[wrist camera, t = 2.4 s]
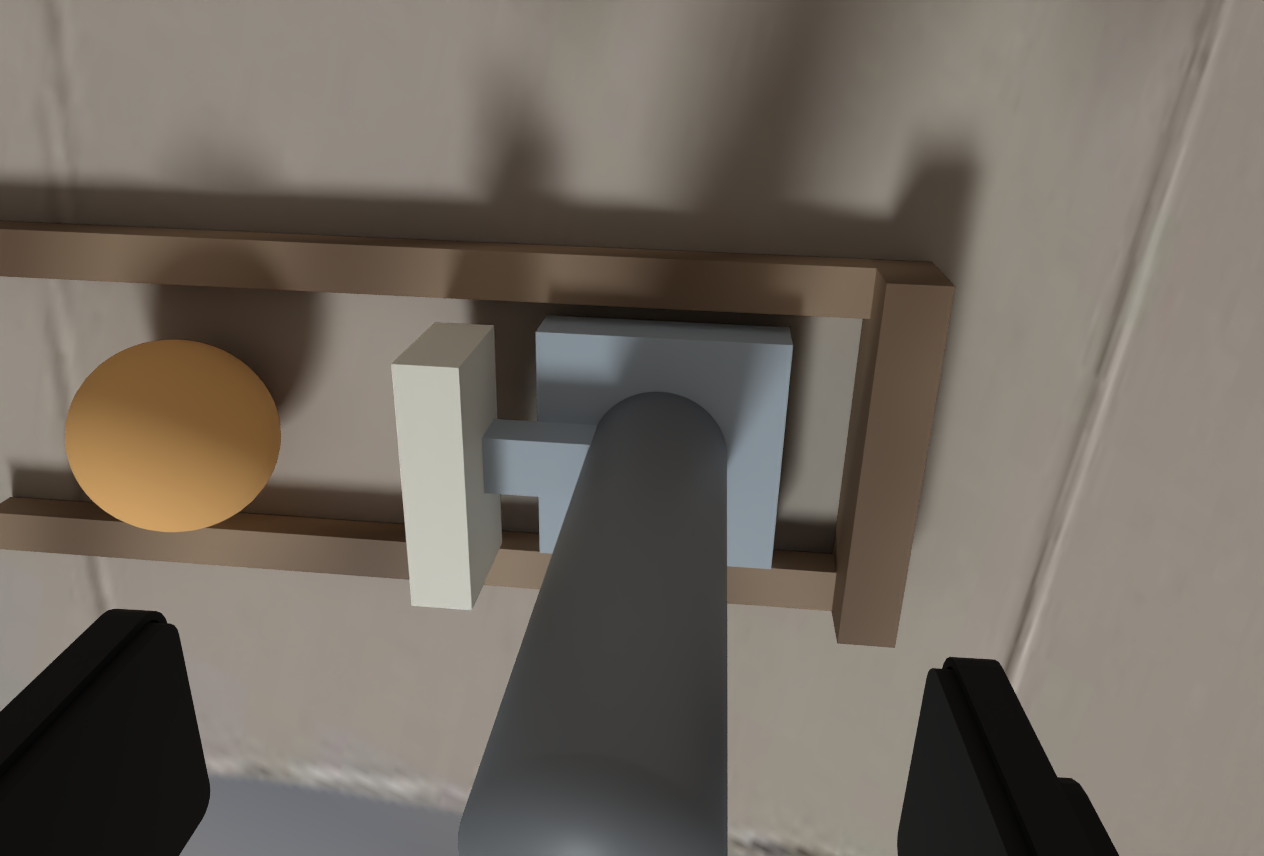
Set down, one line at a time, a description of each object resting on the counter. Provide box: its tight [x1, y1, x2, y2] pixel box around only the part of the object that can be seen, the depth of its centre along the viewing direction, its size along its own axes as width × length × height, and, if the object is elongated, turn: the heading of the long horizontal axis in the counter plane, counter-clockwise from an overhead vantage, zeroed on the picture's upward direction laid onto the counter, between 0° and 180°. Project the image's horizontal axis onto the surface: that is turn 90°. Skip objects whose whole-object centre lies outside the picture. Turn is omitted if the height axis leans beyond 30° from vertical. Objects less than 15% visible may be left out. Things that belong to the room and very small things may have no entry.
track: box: [0, 221, 955, 648], centre depth 19 cm, size 21×8×2 cm, turn 89°
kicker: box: [391, 315, 793, 856], centre depth 15 cm, size 7×5×11 cm
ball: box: [65, 340, 281, 532], centre depth 19 cm, size 4×4×4 cm
